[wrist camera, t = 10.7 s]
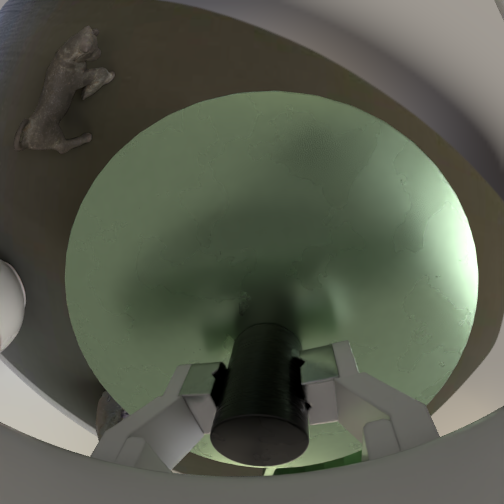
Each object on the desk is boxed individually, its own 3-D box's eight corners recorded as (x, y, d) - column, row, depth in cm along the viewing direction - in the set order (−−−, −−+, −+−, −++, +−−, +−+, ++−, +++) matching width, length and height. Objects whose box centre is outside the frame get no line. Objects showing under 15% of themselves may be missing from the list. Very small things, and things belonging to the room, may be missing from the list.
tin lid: (437, 74, 7) (527, 35, 2) (441, 415, 11) (471, 481, 7) (37, 184, 10) (-54, 207, 5) (165, 453, 14) (141, 516, 9)
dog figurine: (84, 160, 22) (28, 164, 15) (49, 140, 22) (-5, 141, 15) (141, 42, 19) (98, 11, 12) (100, 32, 18) (54, 7, 11)
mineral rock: (160, 453, 34) (140, 503, 25) (98, 419, 33) (70, 464, 24) (188, 417, 30) (165, 482, 21) (111, 374, 30) (71, 430, 20)
